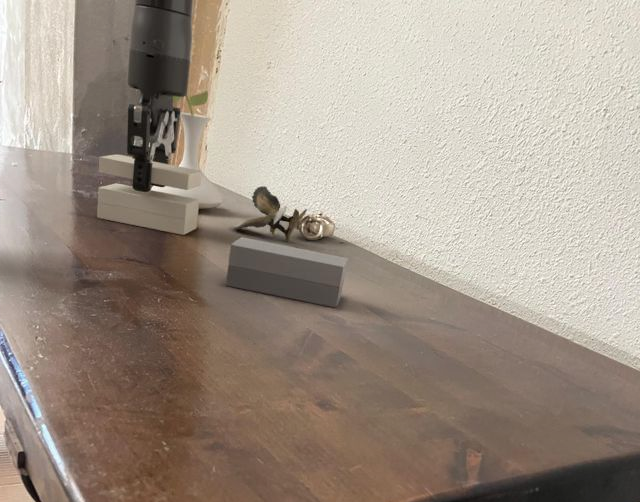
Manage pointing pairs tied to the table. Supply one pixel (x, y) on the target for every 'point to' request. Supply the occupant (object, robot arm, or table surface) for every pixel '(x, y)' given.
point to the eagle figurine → (271, 213)
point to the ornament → (315, 226)
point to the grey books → (286, 271)
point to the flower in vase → (194, 153)
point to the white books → (148, 208)
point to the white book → (160, 172)
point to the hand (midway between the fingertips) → (149, 188)
